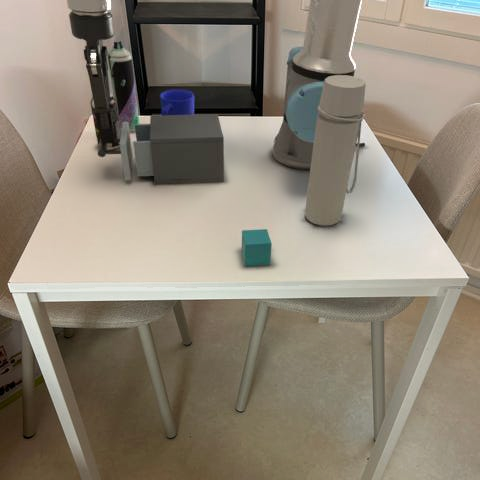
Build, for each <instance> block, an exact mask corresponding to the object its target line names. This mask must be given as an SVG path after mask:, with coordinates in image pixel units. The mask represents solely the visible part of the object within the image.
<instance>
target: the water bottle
mask: <svg viewBox="0 0 480 480" xmlns="http://www.w3.org/2000/svg"><path fill="white" fill-rule="evenodd" d="M366 84H367V83H366V81H365V80H364V79H363V78H360V77H357V76H354V77H353V76H348V75H334V76H329V77H327V78H326V79H325V81H324V85H323V90H322V94H321V99H320V103H319V106H318V112H319V113H318V114H317V122H316V130H315V137H314V145H313V153H312V160H311V168H310V169H309V176H308V184H307V192H306V200H305V206H304V207H305V208H304V215H305V218H306V219H307V220H308V221H309V222H310V223H311V224H314V225H317V226H326V227H329V226H333V225H336V224H338V222H340V220H341V218H342V216H343V211H344V206H345V200H346V195H347V194H348V195H349V194H353V191H354V190H355V187H356V182H357V177H358V176H357V175H358V167H359V166H358V165H359V157H360V156H359V155H360V147H359V144H360V143H361V132H362V122H363V120H364V119H365V118H366V112H365V111H364V106H365V94H366V86H367V85H366ZM356 143H357V147H356ZM355 152H356V153H355ZM354 156H355V163H354V172H353V173H354V174H353V180H352V183H351V187H350V189H349V190H348V185H349V180H350V175H351V170H352V166H353V161H354Z"/></svg>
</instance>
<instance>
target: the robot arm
mask: <svg viewBox="0 0 480 480" xmlns="http://www.w3.org/2000/svg"><path fill="white" fill-rule="evenodd" d="M362 1H363V0H309V6H308V12H307V21H306V26H305V32H304V39H303V44H302V45H303V46H302V45H301V46H295V47H292V48H290V50H289V52H288V58H287V61H286V65H287V68H286V79H285V90H284V91H285V93H284V105H283V116H282V117H283V119H282V123H281V125H280V128H279V130H278V133H277V134H276V136H275V137H274V140H273V142H272V143H273V146H272V157H273V159H275V161H277V162H278V163H279V164H282V165H284V166H286V167H289V168H293V169H297V170H310V168H311V160H312V153H313V145H314V137H315V130H316V122H317V114H318V113H319V112H318V106H319V103H320V99H321V94H322V90H323V85H324V81H325V79H326V78H327V77H329V76H334V75H348V76H353V77H355V72H356V68H357V66H356V63H355V62H354V60H353V58H352V56H351V53H352V52H351V51H352V48H353V43H354V37H355V34H356V33H355V32H356V29H357V24H358V20H359V15H360V14H359V13H360V10H361V6H362ZM66 3H67V8H68V9H69V10H70V12H69V14H68V18H69V24H70V29H71V31H70V32H71V34H72V36H73V37H74V38H75V39H78V40H84V41H85V43H86V44H85V46H84V49H83V56H84V60H85V62H86V64H85V68H86V70H87V75H88V79H89V85H90V90H91V97H92V96H93V101H94V106H95V108H93V112H97V117H98V123H99V130H100V137H101V143H115V136H114V128H113V121H112V113H111V109H110V108H114V104H112V103H110V101H111V97H110V92H111V91H110V81H109V62H108V52H109V51H108V46H107V45H104V41H105V40H110V39H111V38H113V37H114V36H115V26H114V18H113V14H112V13H111V12H110V11H111V10H112V8H113V5H112V0H66ZM365 146H366V143H365V142H360V144H359V148H363V147H365ZM356 148H357V143H356Z"/></svg>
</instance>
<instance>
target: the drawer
mask: <svg viewBox="0 0 480 480" xmlns="http://www.w3.org/2000/svg"><path fill="white" fill-rule="evenodd" d="M134 133H135V139H136V140H134V141H132V140H131V132H130V131H129V124H128V122H123V123H122V131H121V138H120V139H115V142H120V146H119V148H120V149H119V150H118V149H113V150H107V145H108V143H101V140H100V145H98V150H97V155H98V157H100V158H105V157H106V156H107V155H121V161H122V167H123V174H124V180H125V181H131V180H132V172H133V161H134V160H133V158H134V159H135V167H136V173H137V174H136V175H137V177H154V173H153V163H152V154H151V145H150V123H139V124H135V132H134ZM132 142H133V143H132ZM132 145H133V147H132ZM133 153H134V154H133Z"/></svg>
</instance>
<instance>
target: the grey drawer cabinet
mask: <svg viewBox="0 0 480 480" xmlns="http://www.w3.org/2000/svg"><path fill="white" fill-rule="evenodd" d="M149 117H150V119H149V120H150V121H149V124H150V145H151V154H152V163H153V173H154V176H153V180H154V185H175V184H198V183H200V184H202V183H222V182H225V179H224V175H225V173H224V171H225V170H224V167H225V166H224V163H225V162H224V161H225V160H224V158H225V157H224V155H225V154H224V153H225V151H224V148H225V146H224V143H225V140H224V134H223V129H222V125H221V122H220V121H221V120H220V118H219V114H218V113H208V114H207V113H206V114H205V113H203V114H194V115H161V114H160V115H159V114H158V115H150V116H149Z"/></svg>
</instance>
